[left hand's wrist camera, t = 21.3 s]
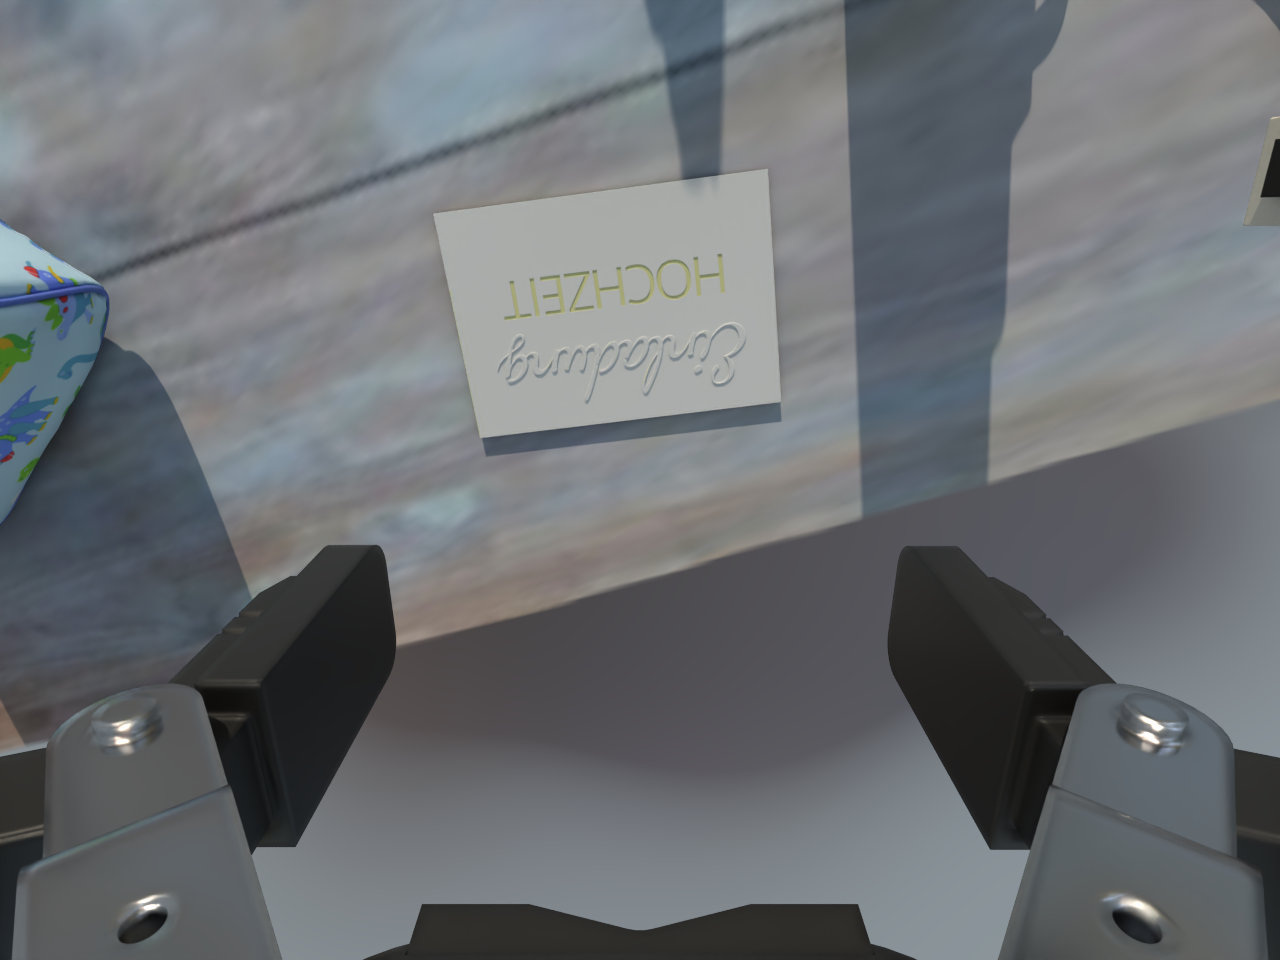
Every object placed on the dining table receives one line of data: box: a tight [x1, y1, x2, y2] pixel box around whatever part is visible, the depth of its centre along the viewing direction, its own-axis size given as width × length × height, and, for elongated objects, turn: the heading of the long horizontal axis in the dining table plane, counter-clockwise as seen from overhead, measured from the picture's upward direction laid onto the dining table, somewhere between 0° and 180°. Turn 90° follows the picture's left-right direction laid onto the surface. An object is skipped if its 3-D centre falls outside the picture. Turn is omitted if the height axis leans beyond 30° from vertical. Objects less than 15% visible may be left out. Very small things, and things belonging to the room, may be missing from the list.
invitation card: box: [433, 169, 781, 438], centre depth 48 cm, size 21×1×15 cm
